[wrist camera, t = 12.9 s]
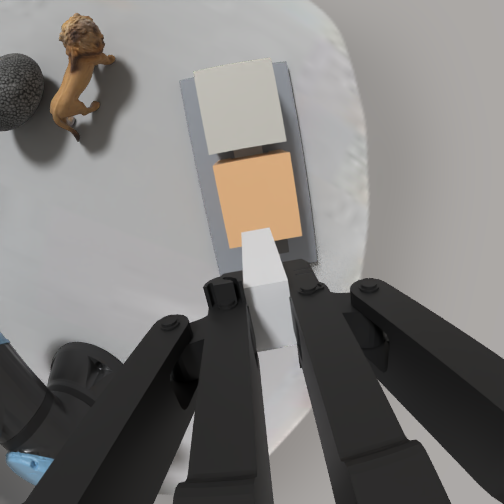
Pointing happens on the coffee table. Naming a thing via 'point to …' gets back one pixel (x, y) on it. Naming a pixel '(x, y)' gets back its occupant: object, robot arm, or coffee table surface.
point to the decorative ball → (18, 89)
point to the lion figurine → (78, 69)
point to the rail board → (210, 185)
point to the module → (258, 195)
